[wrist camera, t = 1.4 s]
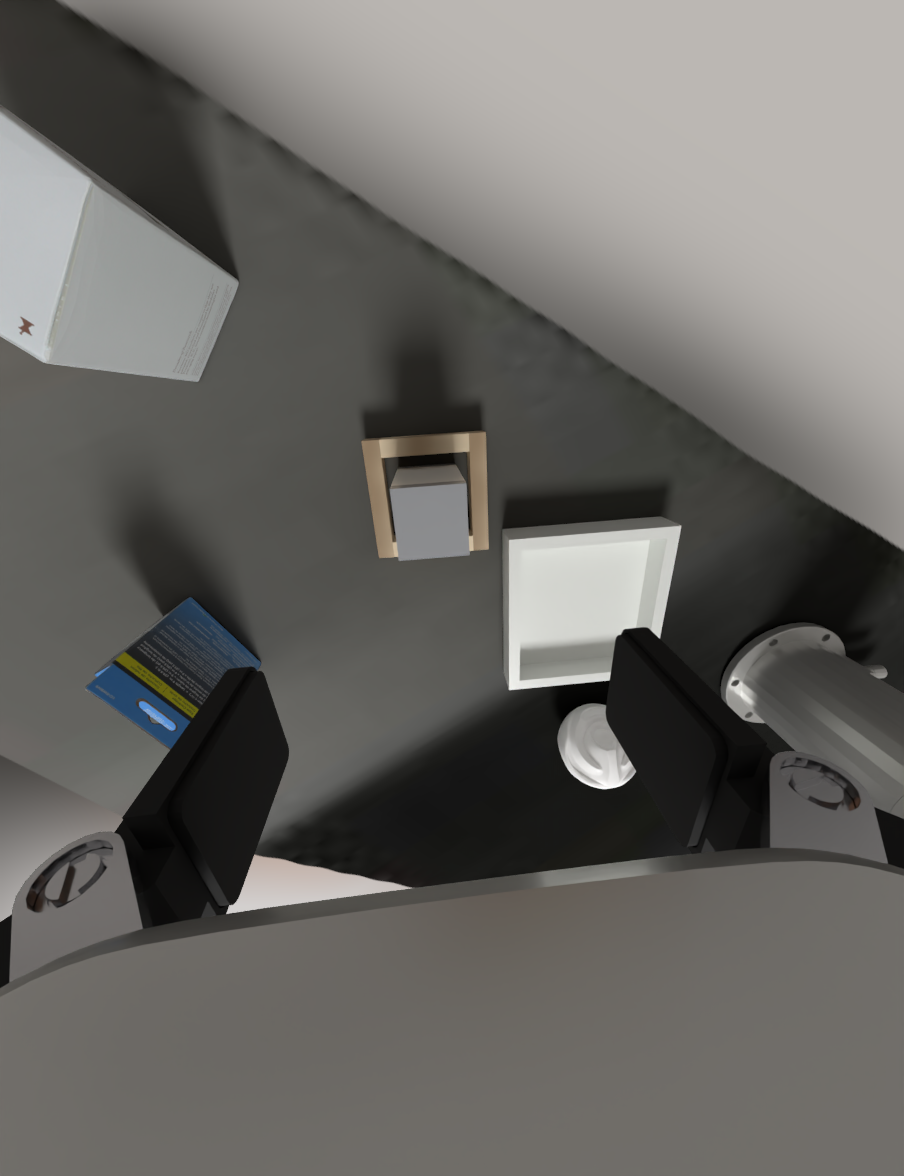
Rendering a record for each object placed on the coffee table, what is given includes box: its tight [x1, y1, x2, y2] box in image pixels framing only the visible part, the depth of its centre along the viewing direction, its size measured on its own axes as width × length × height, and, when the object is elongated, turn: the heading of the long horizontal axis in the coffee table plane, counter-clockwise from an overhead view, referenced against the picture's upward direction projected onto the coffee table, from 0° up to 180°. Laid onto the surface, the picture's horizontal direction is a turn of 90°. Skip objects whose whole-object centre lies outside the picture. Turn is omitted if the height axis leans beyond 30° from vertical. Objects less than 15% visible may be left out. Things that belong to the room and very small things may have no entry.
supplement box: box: [0, 105, 239, 382], centre depth 20 cm, size 7×7×13 cm
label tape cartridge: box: [85, 597, 261, 750], centre depth 31 cm, size 9×4×12 cm, turn 32°
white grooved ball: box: [558, 703, 636, 789], centre depth 40 cm, size 8×8×8 cm
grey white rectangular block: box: [390, 463, 470, 561], centre depth 28 cm, size 4×4×9 cm
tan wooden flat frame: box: [362, 431, 489, 558], centre depth 31 cm, size 9×9×2 cm
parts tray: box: [502, 516, 681, 690], centre depth 36 cm, size 14×15×3 cm
